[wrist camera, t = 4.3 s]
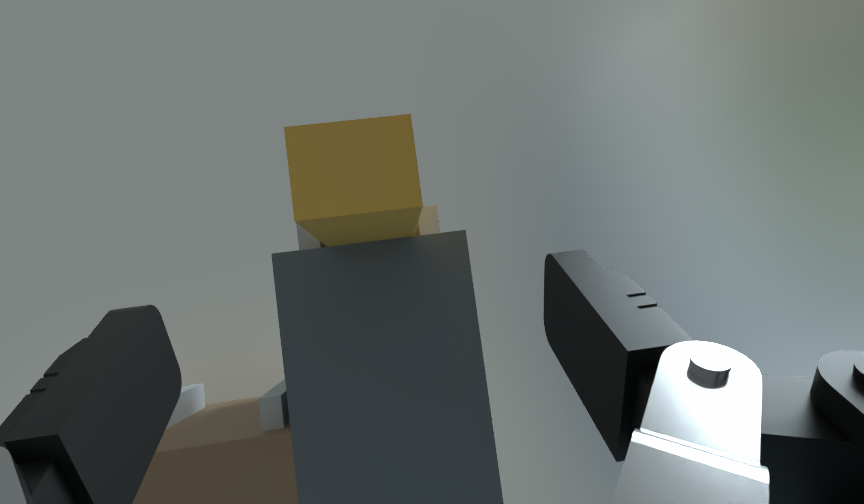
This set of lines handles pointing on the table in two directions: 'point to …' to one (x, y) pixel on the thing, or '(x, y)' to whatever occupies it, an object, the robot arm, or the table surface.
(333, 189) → the tan rectangular bar
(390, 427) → the grey and brown cartons
